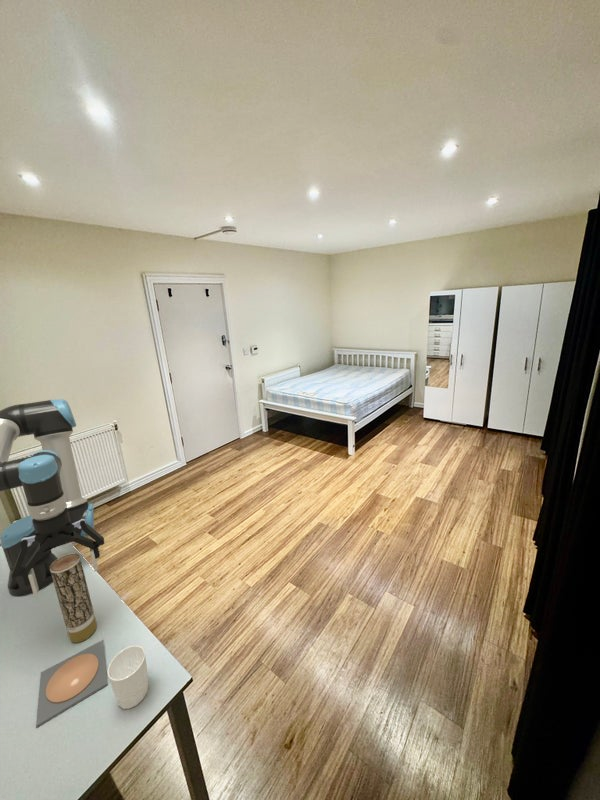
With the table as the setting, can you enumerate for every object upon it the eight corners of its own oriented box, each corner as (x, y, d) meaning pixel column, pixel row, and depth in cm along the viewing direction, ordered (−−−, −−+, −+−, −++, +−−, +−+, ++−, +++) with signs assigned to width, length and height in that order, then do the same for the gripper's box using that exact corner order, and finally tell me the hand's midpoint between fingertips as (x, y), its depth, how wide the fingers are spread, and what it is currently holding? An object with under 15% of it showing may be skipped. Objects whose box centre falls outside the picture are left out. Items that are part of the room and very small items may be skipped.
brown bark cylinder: (83, 646, 87) (63, 572, 82) (63, 642, 89) (43, 569, 83) (102, 623, 94) (85, 554, 88) (84, 620, 95) (66, 551, 89)
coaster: (41, 674, 81) (40, 670, 80) (103, 641, 89) (102, 638, 88) (36, 728, 70) (35, 724, 69) (108, 685, 78) (107, 681, 77)
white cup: (142, 668, 81) (136, 638, 79) (157, 689, 76) (150, 658, 74) (110, 696, 75) (102, 665, 73) (123, 721, 70) (115, 688, 68)
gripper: (-19, 540, 72) (5, 614, 76) (105, 502, 86) (119, 566, 91) (-12, 524, 78) (10, 594, 82) (103, 491, 92) (116, 552, 96)
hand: (67, 579), depth 86 cm, fingers open, 13 cm apart
